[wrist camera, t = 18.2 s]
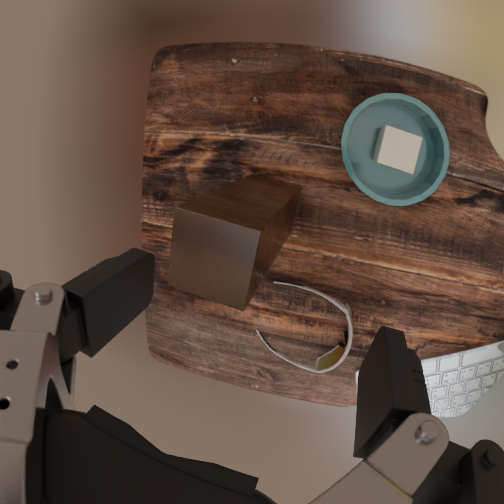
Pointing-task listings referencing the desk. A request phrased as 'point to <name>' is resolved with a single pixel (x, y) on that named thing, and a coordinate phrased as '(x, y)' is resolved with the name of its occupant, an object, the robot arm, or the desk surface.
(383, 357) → the robot arm
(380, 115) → the bowl
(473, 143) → the desk surface
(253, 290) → the block
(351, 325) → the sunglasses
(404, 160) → the block
